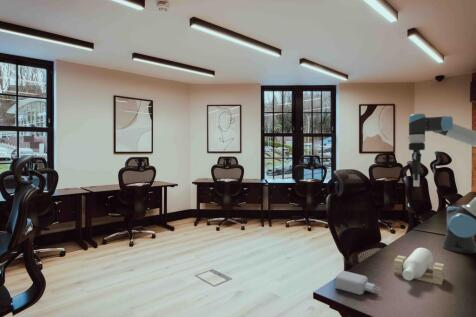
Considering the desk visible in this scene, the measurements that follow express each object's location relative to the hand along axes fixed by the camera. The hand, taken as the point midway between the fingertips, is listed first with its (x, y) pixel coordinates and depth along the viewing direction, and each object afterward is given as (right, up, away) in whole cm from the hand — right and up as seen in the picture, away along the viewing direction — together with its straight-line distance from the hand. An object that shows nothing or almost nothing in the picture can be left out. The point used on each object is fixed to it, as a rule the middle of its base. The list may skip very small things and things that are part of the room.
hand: (416, 186), depth 161 cm
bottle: (-11, -30, -24) cm, 40 cm away
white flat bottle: (-51, -35, -48) cm, 78 cm away
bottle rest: (-20, -35, -35) cm, 54 cm away
